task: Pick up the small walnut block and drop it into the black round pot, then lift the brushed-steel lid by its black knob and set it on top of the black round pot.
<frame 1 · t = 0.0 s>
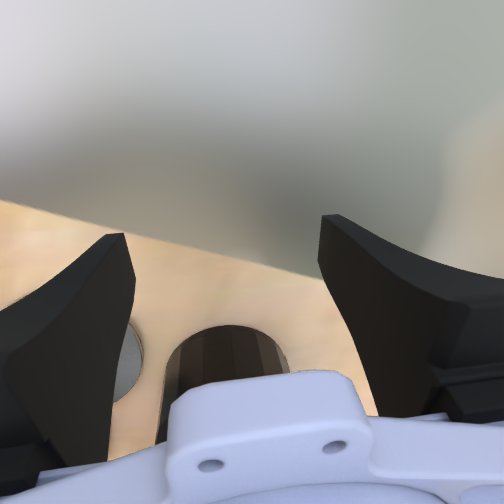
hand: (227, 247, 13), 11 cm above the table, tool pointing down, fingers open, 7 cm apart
lid: (68, 355, 26), point 1 cm above the table
black round pot: (226, 374, 29), on the table
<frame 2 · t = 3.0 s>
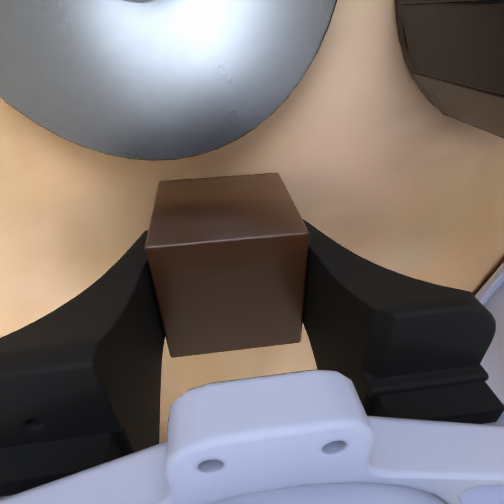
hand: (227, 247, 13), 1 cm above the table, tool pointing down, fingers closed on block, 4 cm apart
block: (223, 228, 14), on the table, touching gripper
when the fingers open (5 cm above the table, at t = 7.2 s): block drops 4 cm, resting on black round pot.
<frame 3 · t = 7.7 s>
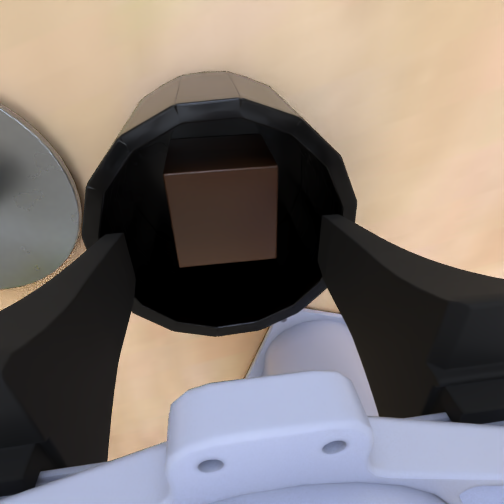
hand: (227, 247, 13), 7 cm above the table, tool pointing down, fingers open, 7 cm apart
block: (219, 179, 18), resting on black round pot
black round pot: (217, 177, 18), on the table
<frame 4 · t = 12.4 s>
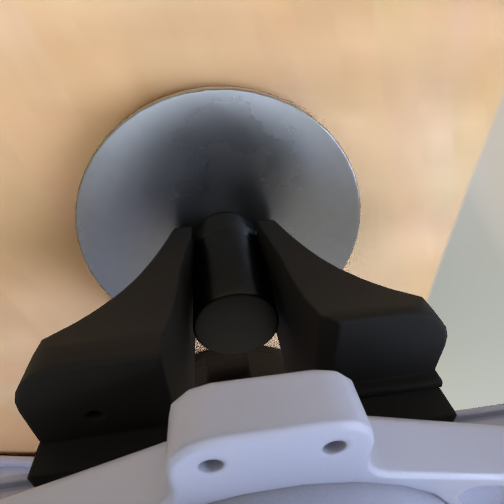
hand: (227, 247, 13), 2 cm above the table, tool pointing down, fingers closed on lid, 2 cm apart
lid: (224, 233, 14), point 1 cm above the table, touching gripper
black round pot: (235, 401, 21), on the table
when the fingers open (7 cm above the table, at t = 15.8 s): lid stays where it is, resting on black round pot.
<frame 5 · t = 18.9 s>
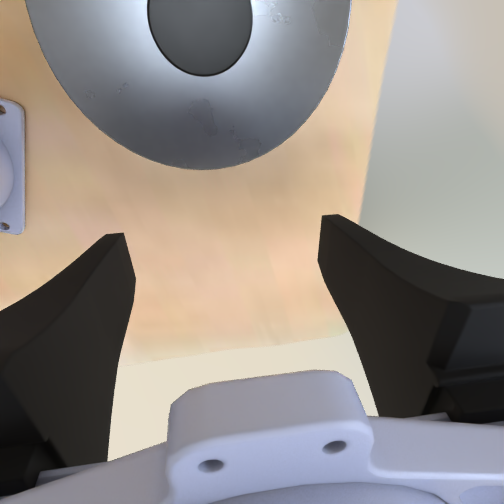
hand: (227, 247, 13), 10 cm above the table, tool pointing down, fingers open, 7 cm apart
lid: (198, 17, 12), point 6 cm above the table, touching black round pot
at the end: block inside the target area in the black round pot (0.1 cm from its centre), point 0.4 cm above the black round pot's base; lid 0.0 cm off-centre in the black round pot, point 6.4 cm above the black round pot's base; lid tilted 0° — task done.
